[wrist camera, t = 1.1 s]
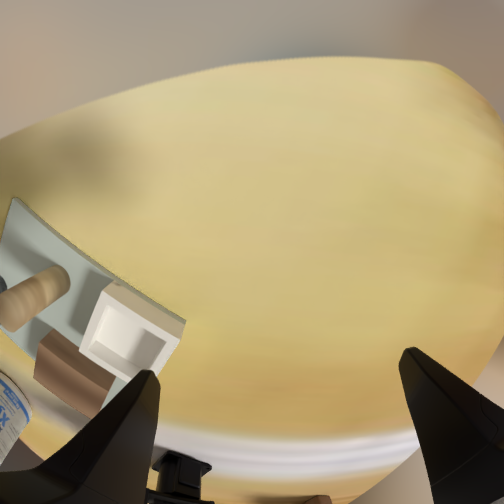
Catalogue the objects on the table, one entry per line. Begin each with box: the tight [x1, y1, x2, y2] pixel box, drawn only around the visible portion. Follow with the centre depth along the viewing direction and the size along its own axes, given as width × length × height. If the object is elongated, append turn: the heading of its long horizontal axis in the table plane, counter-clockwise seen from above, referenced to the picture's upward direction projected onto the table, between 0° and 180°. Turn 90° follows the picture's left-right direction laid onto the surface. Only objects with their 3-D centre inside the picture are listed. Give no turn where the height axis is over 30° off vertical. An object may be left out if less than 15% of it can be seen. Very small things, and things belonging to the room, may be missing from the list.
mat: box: [0, 198, 186, 409], centre depth 21 cm, size 16×21×1 cm
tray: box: [79, 280, 185, 383], centre depth 20 cm, size 7×7×2 cm
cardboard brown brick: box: [33, 328, 116, 419], centre depth 20 cm, size 6×8×3 cm
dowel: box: [0, 265, 71, 333], centre depth 16 cm, size 3×3×8 cm
